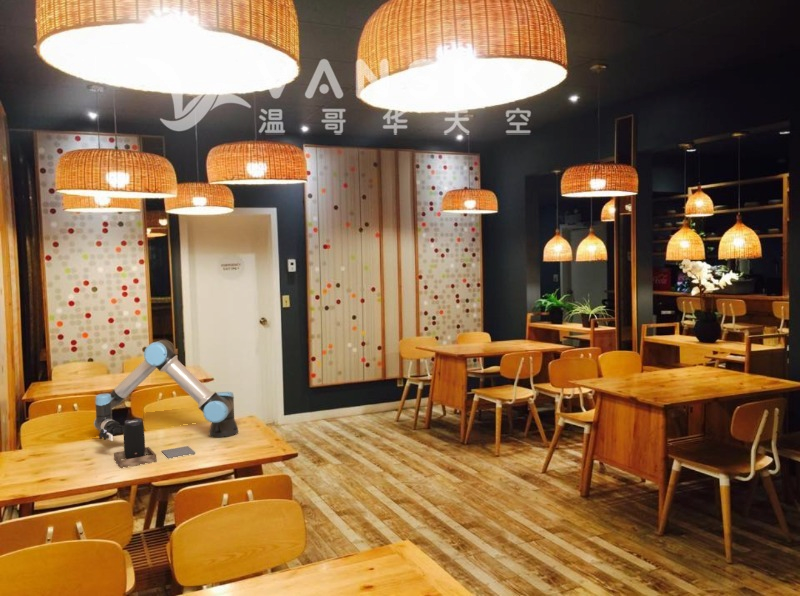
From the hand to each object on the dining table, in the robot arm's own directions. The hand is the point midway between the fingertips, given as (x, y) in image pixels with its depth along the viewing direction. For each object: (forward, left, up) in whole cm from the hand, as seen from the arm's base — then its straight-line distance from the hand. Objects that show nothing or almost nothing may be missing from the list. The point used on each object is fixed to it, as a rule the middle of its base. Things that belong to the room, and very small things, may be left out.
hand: (126, 435), depth 310 cm
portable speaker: (-2, +8, -11) cm, 14 cm away
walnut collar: (-2, +8, -11) cm, 14 cm away
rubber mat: (-22, +8, -11) cm, 26 cm away
